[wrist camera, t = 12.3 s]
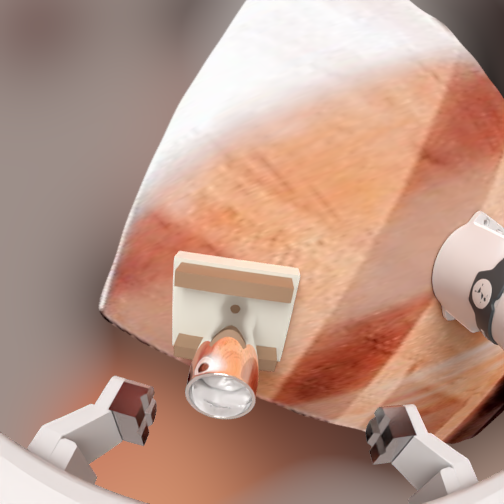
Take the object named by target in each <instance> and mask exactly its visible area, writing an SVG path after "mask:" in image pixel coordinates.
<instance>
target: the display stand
mask: <svg viewBox="0 0 504 504" xmlns="http://www.w3.org/2000/svg"><path fill="white" fill-rule="evenodd" d="M299 280H300V272H299V269H298V268H294V267H287V266H280V265H273V264H266V263H259V262H252V261H245V260H238V259H231V258H224V257H218V256H211V255H204V254H197V253H191V252H184V251H179V252H178V253H177V254H176V255H175V257H174V272H173V312H172V345H174V356H175V357H180V358H185V359H191V360H193V357H194V354H195V352H196V349H197V348H198V346H199V344H200V342H201V341H202V339H203V338H204V336H205V335H206V333H207V332H208V330H209V329H210V327H211V324H212V310H213V308H214V306H215V305H216V304H217V303H218V302H219V301H221V300H223V299H226V298H231V297H235V298H241V299H243V300H246V301H247V302H249V303H250V304H251V305H252V306H253V307H254V309H255V311H256V314H257V323H256V326H255V329H254V331H253V337H254V341H255V345H256V349H257V354H258V360H259V370H264V371H273V372H274V371H275V367H276V363H277V361H279V362H280V359H281V356H282V352H283V348H284V344H285V340H286V336H287V332H288V327H289V323H290V319H291V315H292V311H293V306H294V302H295V298H296V293H297V289H298V284H299Z"/></svg>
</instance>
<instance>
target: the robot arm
mask: <svg viewBox="0 0 504 504" xmlns="http://www.w3.org/2000/svg"><path fill="white" fill-rule="evenodd" d="M484 221H485V222H484ZM432 284H433V290H434V293H435V296H436V298H437V299H438V301H439V302H440V303H441V305H442V313H443V317H444V318H445V319H446V320H448V321H450V320H455V319H456V320H457V321H459V322H460V323H461V324H462V325H463V326H464V327H466V328H467V329H468V330H469V331H470V332H472V333H475V332H479V331H481V332H482V334H483V335H484V336H485V337H486V338H487V339H488V340H490V341H491V342H492V343H494V344H496V345H499V346H500V347H501V348H502V349H503V350H504V228H503V227H502V226H501V225H500V224H498V223H497V222H496V221H494V220H493V219H492V218H491V217H489V216H488V215H487V214H485V213H484V212H482V211H477V212H476V213H475V214H474V215H473V217H472V218H471V219H470V221H469V222H468V223H467V224H465V225H463V226H462V227H460V228H458V229H457V230H456V231H454V232H453V233H452V234H451V235H450V236H449V237H448V238H447V240H446V241H445V243H444V244H443V246H442V247H441V249H440V251H439V253H438V255H437V258H436V261H435V264H434V268H433V275H432ZM153 396H154V388H153V387H152V386H148V385H145V384H141V383H138V382H134V381H131V380H128V379H124V378H121V377H118V376H113V377H112V378H111V379H110V381H109V382H108V384H107V386H106V387H105V389H104V390H103V392H102V394H101V395H100V397H99V399H98V400H97V402H96V403H95V405H93V404H90V405H87V406H85V407H83V408H81V409H79V410H77V411H74V412H72V413H70V414H68V415H66V416H63V417H61V418H59V419H57V420H54V421H52V422H49V423H47V424H45V425H43V426H42V427H41V428H40V430H39V432H38V433H37V435H36V436H35V438H34V439H33V440H32V442H31V443H30V445H29V447H28V448H27V449H25V448H24V447H22V446H21V445H19V444H18V443H16V442H15V441H13V440H12V439H10V438H9V437H7V436H6V435H5V434H3V433H2V432H0V504H148V503H145V502H141V501H138V500H135V499H132V498H129V497H126V496H123V495H120V494H117V493H115V492H112V491H109V490H107V489H104V488H102V487H99V486H97V485H95V484H94V483H95V481H96V479H97V476H96V474H95V473H94V471H93V470H92V468H91V467H90V465H89V464H90V463H91V462H93V461H94V460H96V459H97V458H99V457H100V456H102V455H103V454H104V453H106V452H108V451H109V450H111V449H112V448H113V447H115V446H116V445H118V444H119V443H121V442H122V440H124V441H127V442H131V443H134V444H138V445H142V446H144V444H145V442H146V440H147V437H148V435H149V430H148V426H150V425H152V424H153V422H154V419H155V415H156V401H155V400H154V399H153ZM374 414H375V418H373V419H372V420H370V421H369V423H368V425H367V428H366V439H367V443H368V444H370V445H371V446H372V447H371V449H370V455H371V459H372V463H373V464H381V463H389V462H392V464H393V465H394V466H395V467H396V468H397V469H398V471H399V472H400V473H401V474H402V475H403V476H404V477H405V478H406V479H407V480H408V481H409V482H410V483H411V484H412V485H413V486H414V487H415V488H416V489H417V490H418V491H417V492H416V493H415V494H413V495H412V496H411V497H410V498H409V500H408V502H409V504H504V470H502V471H501V472H498V473H496V474H495V475H493V476H490V477H488V478H486V479H484V480H483V481H480V482H478V480H477V478H476V476H475V473H474V471H473V468H472V466H471V464H470V462H469V460H468V459H467V458H466V457H464V456H463V455H461V454H459V453H458V452H457V451H455V450H454V449H452V448H451V447H450V446H448V445H447V444H446V443H444V442H443V441H441V440H440V439H439V438H437V437H436V436H434V435H433V434H432V433H428V432H427V430H426V428H425V425H424V423H423V421H422V419H421V417H420V414H419V412H418V410H417V408H416V406H415V405H414V404H409V405H397V406H386V407H379V408H378V409H377V410H376V411H375V413H374Z"/></svg>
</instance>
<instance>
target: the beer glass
mask: <svg viewBox="0 0 504 504" xmlns="http://www.w3.org/2000/svg"><path fill="white" fill-rule="evenodd" d="M256 323H257V314H256V311H255V309H254V307H253V306H252V305H251V304H250V303H249V302H247V301H246V300H243V299H241V298H235V297H231V298H226V299H223V300H221V301H219V302H218V303H217V304H216V305H215V306H214V308H213V310H212V324H211V327H210V329H209V330H208V332H207V333H206V335H205V336H204V338H203V339H202V341H201V342H200V344H199V346H198V348H197V349H196V352H195V354H194V357H193V360H192V363H191V367H190V371H189V376H188V382H187V386H186V389H185V395H186V398H187V400H188V402H189V403H190V405H191V406H192V407H193V408H195V409H196V410H197V411H199V412H200V413H202V414H204V415H206V416H209V417H213V418H217V419H234V418H238V417H241V416H244V415H245V414H247V413H248V412H250V411H251V410H252V408H253V407H254V405H255V400H256V399H255V398H256V392H257V386H258V377H259V360H258V354H257V349H256V345H255V341H254V337H253V331H254V329H255V326H256Z"/></svg>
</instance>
